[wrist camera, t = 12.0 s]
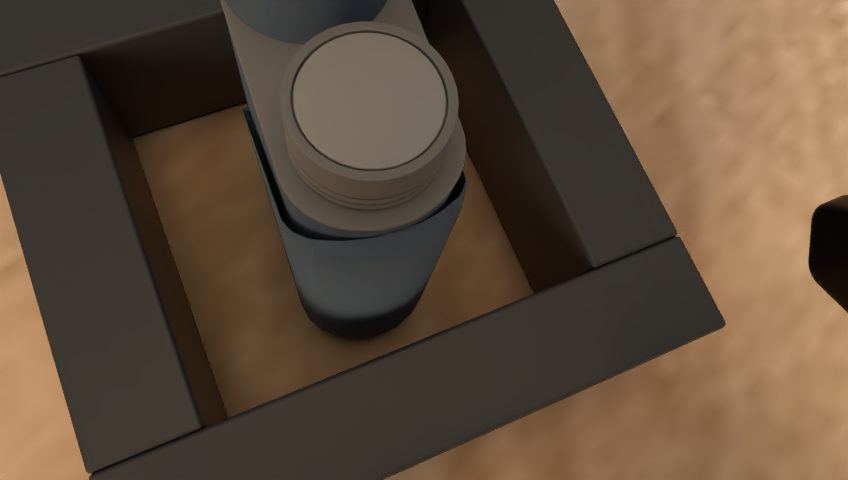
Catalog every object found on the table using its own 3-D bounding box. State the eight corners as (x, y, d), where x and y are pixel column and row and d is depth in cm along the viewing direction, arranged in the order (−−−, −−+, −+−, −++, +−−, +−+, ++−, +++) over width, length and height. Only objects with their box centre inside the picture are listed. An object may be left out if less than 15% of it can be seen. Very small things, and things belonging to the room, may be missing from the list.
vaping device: (358, 113, 17) (392, -614, 6) (433, 323, 16) (680, -68, 4) (249, 141, 16) (43, -593, 5) (318, 361, 15) (246, 33, 4)
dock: (648, 354, 16) (729, 325, 13) (173, 566, 14) (120, 596, 10) (456, -30, 18) (481, -139, 15) (28, 95, 16) (-52, -2, 13)
